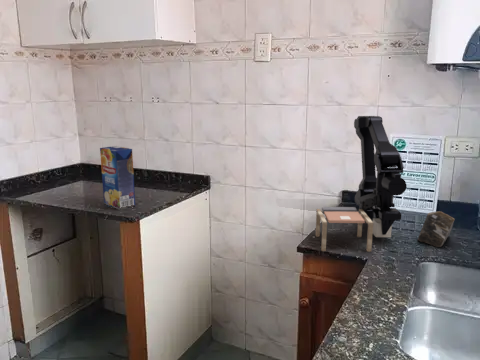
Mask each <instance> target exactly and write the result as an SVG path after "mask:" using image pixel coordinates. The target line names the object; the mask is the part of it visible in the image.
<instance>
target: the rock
mask: <svg viewBox="0 0 480 360" xmlns="http://www.w3.org/2000/svg"><path fill="white" fill-rule="evenodd" d="M455 219H456V218H454V217H453V216H450V215H449V214H447V213H445V212H443V211H442V210H441V211H440V210H439V211H430V212H428V213H427V215H426V217H425V220H424V221H423V225H422V227H421V230H420V232H419V235H418V237H417V241H419V242H421V243H426V244H428V245H431V246H434V247H437V248H441V247H442V246H443V245H444V244H445V242H446V240H447V239H448V237H449V236H450V234H451V232H452V229H453V228H454V227H453V226H454V222H455Z"/></svg>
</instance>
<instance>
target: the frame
mask: <svg viewBox="0 0 480 360" xmlns="http://www.w3.org/2000/svg"><path fill="white" fill-rule="evenodd" d="M324 212H359V214H360V215H361V216H362V218H364V220H365V221H366V222H365V223H366V224H367V235H366V237H367V238H366V252H368V253H370V252H372V248H373V247H372V245H373V235H374V234H373V222H372V220H371V219H370V218H369V217H368V216H367V214H366V213H365V212H364V211H363V210H362V209H359V208H358V210H357V211H322V209H321V208H317V209H316V212H315V213H316V214H315V215H316V217H315V237H318V238H320V235H321V248H320V250H321V252H326V251H327V231H328V230H327V229H328V220H327V218H326V216H325V214H323V213H324ZM362 232H363V223H357V231H356V237H357V238H362V234H363V233H362ZM320 233H321V234H320Z"/></svg>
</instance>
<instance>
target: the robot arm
mask: <svg viewBox="0 0 480 360" xmlns="http://www.w3.org/2000/svg"><path fill="white" fill-rule="evenodd" d="M382 117H383V116H382ZM382 117H381V116H379V115H377V116H376V115H358V116H357V118H355V119H354V121H353V128H354V129H355V135H356V136H357V137H358V138H359V140H360V152H361V173H362V179H361V181H360V182H359V185H358V190H357V192H356V194H355V195H354V203H355V204H356V205H357V206H359V207H358V210H359V209H362V210H363V211H364V212H365V213H366V214H367V216H368V217H369V218H370V219H371V220H372V222H373V218H379V219H380V220H381V228H382V234H383V235H386V233H387V232H388V230H389V228H390V227H391V225H392V226H393V224H394V222H395V221H401V220H402V213H401V212H400V211H399V210H398V209H397V208H396V207H395V206H396V205H395V204H396V203H394V196H400V195H402V194H404V193H405V191H406V190H407V182H406V181H405V179H404V178H402V174H404V169H405V166H404V163H403V160H402V156H401V154H400V152H399V151H398V149H397V147H396V145H393V144H392V143H391V142H390V140H389V137H388V135H387V132H386V129H385V127H384V124H383V118H382ZM363 219H364V218H363ZM365 223H367V222H366V221H365Z"/></svg>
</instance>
